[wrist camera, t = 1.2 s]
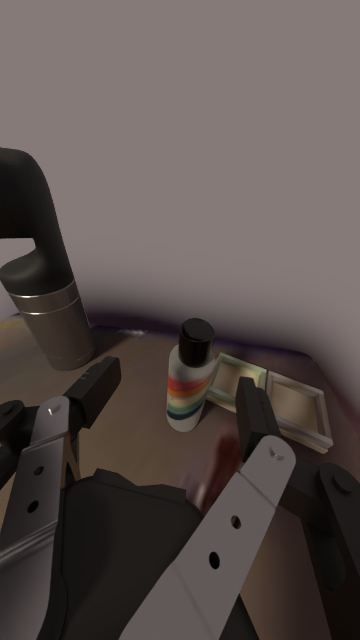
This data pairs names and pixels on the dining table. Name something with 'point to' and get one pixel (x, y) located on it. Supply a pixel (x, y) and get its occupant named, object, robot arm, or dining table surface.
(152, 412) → the dining table surface
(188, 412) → the lotion bottle
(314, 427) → the cream flat tray
